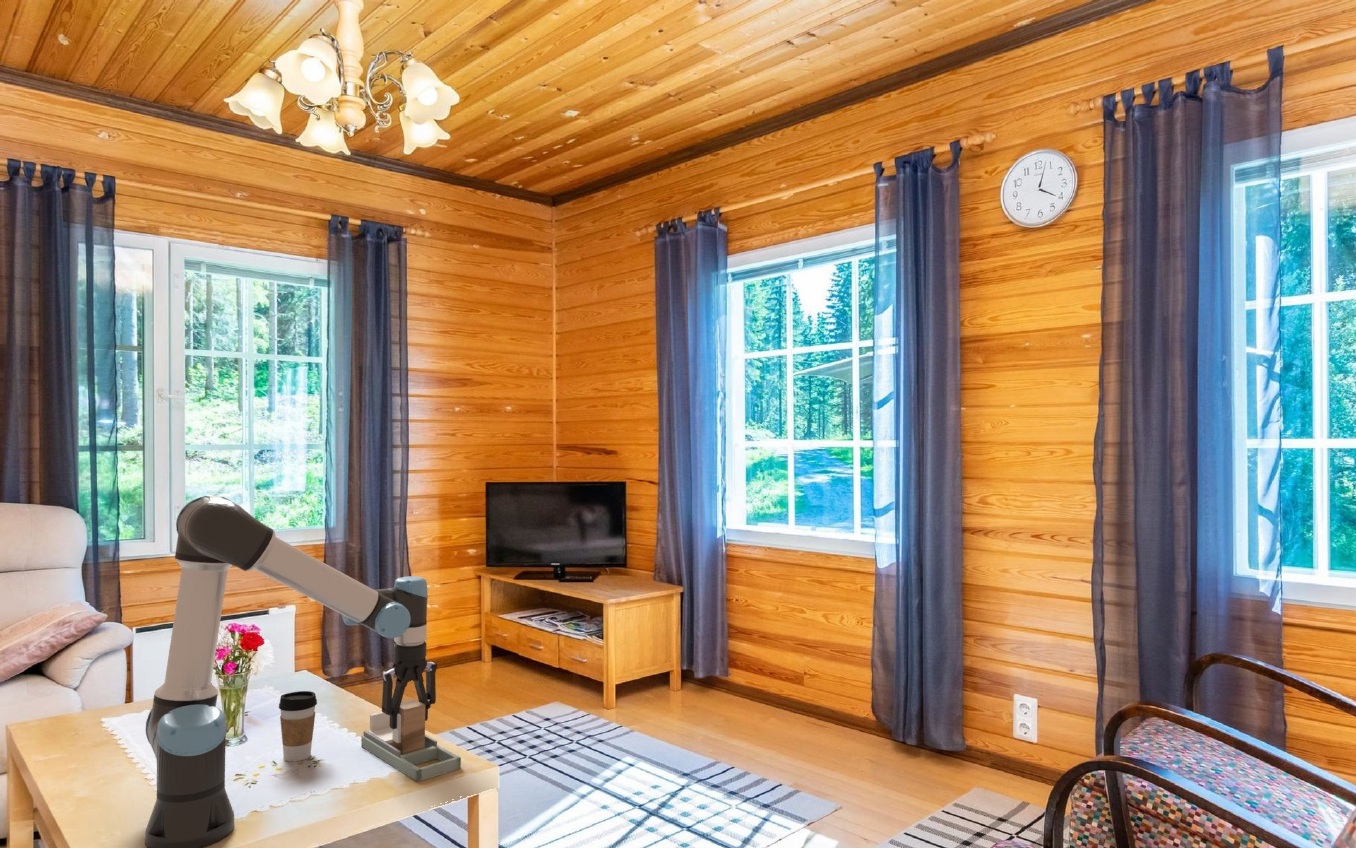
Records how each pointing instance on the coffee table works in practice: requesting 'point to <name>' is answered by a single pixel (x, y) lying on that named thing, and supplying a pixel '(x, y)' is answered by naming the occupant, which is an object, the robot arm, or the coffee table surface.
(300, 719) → the coffee cup
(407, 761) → the tray
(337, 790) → the coffee table surface
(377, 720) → the white l-shaped bracket
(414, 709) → the block
